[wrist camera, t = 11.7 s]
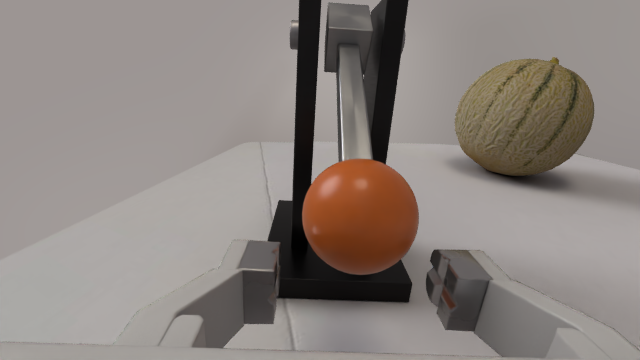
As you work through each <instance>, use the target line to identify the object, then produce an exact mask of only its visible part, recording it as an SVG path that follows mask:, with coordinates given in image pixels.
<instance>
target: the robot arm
mask: <svg viewBox="0 0 640 360" xmlns="http://www.w3.org/2000/svg"><path fill="white" fill-rule="evenodd" d="M280 257H281V242H269V241H253V240H250V241H249V240H233V241H232V242H231V244H230V246H229V248H228V250H227V252H226V254H225V256H224V258H223V260H222V262H221V264H220V266H219V268H218V269H212V270H210V271H208V272H207V273H205V274H203V275H201V276H199V277H198V278H196V279H194V280H192V281H191V282H189V283H187V284H185V285H184V286H182V287H180V288H178V289H176V290H175V291H173V292H171V293H169V294H168V295H166V296H164V297H162V298H160V299H159V300H157V301H155V302H153V303H152V304H150V305H148V306H146V307H144V308H143V309H141V310H139V311H137V313H136V314H135V315H134V316H133V318H132V319H131V320H130V322H129V323H128V324H127V326H126V327H125V328H124V330H123V331H122V332H121V334H120V335H119V336H118V338H117V339H116V340H115V342H114V343H113V344H112V345H98V344H65V343H33V342H0V360H640V350H638V349H637V348H636V347H635V346H634V345H633V344H631V343H630V342H629V341H628V340H627V339H625V338H624V337H623V336H622V335H621V334H620V333H618V332H617V331H616V330H615V329H613V328H611V327H609V326H607V325H605V324H603V323H601V322H599V321H597V320H595V319H593V318H591V317H589V316H587V315H585V314H583V313H581V312H579V311H577V310H575V309H573V308H571V307H569V306H567V305H565V304H563V303H561V302H558V301H556V300H554V299H552V298H550V297H548V296H546V295H544V294H542V293H540V292H538V291H536V290H534V289H532V288H530V287H528V286H526V285H524V284H522V283H520V282H518V281H512V280H511V279H510V278H509V277H508V276H507V275H506V274H505V273H504V272H503V271H502V270H501V269H500V268H499V267H498V266H497V265H496V264H495V263H494V262H493V261H492V260H491V259H490V258H489V257H488V256H487V255H486V254H485V253H484V252H483V251H480V250H434V251H433V252H432V255H431V259H430V262H431V263H432V265H433V268H432V269H431V270H430V271H429V272H428V273H427V278H426V290H427V293H428V297H429V299H430V301H431V302H432V303H433V304H434V305H436V306H437V307H438V309H437V314H438V316H439V318H440V320H441V322H442V324H443V326H444V328H445V330H456V331H472V332H474V333H475V334H476V335H477V336H478V337H479V338H480V339H482V340H483V341H484V342H485V343H486V344H488V345H489V346H490V347H491V348H492V349H493V350H495V351H496V352H497V353H498V354H499V355H500V356H502V357H487V356H454V355H422V354H390V353H357V352H325V351H292V350H260V349H228V348H223V347H224V346H225V345H226V344H227V343H228V342H229V340H230V339H231V338H232V337H233V336H234V335H235V334H236V333H237V332H238V331H239V330H240V329H241V328H242V327H243V326H244V324H274V318H275V312H276V302H277V297H278V294H279V286H280V272H281V266H280V265H279V263H280Z"/></svg>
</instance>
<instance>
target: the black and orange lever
mask: <svg viewBox="0 0 640 360" xmlns="http://www.w3.org/2000/svg"><path fill="white" fill-rule="evenodd" d="M407 7H408V0H381V1H380V3H379V4H378V5H377V6H376V7H375V8H374V9H373V10H372V12H371V15H370V16H371V21H372V27H373V35H372V40H371V45H370V50H369V55H368V60H367V65H366V70H365V74H364V88H365V96H366V105H367V113H368V121H369V130H370V138H371V147H372V155H373V160H375V161H378V162H381V163H383V164H386V158H387V151H388V144H389V137H390V130H391V122H392V115H393V108H394V101H395V94H396V86H397V79H398V72H399V65H400V58H401V53H402V51H403V48H404V43H405V30H404V28H405V21H406V15H407ZM320 13H321V0H299V21H295V20H292V21H291V24H290V48H291V49H297V50H298V54H297V83H296V113H295V140H294V169H293V198H292V201H283V200H279V202H278V205H277V209H276V212H275V216H274V220H273V223H272V227H271V230H270V234H269V237H268V241H269V242H281V257H280V263H279V265H280V266H281V272H280V286H279V294H278V297H286V298H313V299H340V300H368V301H395V302H409V298H410V293H411V288H412V282H411V280H410V278H409V276H408V273H407V271H406V269H405V267H404V265H403V263H402V261H401V259H400V260H399V261H398V262H397V263H396V264H394V265H393V266H391V267H389V268H387V269H385V270H383V271H381V272H377V273H373V274H367V275H356V274H349V273H345V272H342V271H339V270H337V269H335V268H333V267H331V266H330V265H328V264H327V263H325V262H324V261H323V260H322V259H321V258H320V257H319V256H318V255H317V254H316V253H315V252H314V250H313V249H312V247H311V246H310V244H309V242H308V240H307V238H306V235H305V232H304V228H303V221H302V211H303V204H304V200H305V196H306V194H307V192H308V190H309V188H310V186H311V176H312V158H313V139H314V122H315V104H316V86H317V68H318V50H319V32H320Z"/></svg>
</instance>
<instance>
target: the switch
mask: <svg viewBox="0 0 640 360" xmlns="http://www.w3.org/2000/svg"><path fill="white" fill-rule="evenodd" d="M372 35H373V27H372V21H371V16H370V11H369V6H368V5H355V4H341V3H328V12H327V24H326V36H325V67H324V69H325V70H324V71H325V72H335V73H336V78H337V115H338V153H339V162H338V163H336V164H334V165H332V166H330V167H328V168H327V169H326V170H324V171H323V172H322V173H321V174H320V175H319V176H318V177H317V178H316V179H315V180H314V182H313V183H312V184H311V186H310V188H309V190H308V192H307V194H306V196H305V200H304V204H303V211H302V221H303V228H304V232H305V235H306V238H307V240H308V242H309V244H310V246H311V247H312V249H313V250H314V252H315V253H316V254H317V255H318V256H319V257H320V258H321V259H322V260H323V261H324V262H325V263H327V264H328V265H330V266H331V267H333V268H335V269H337V270H339V271H342V272H345V273H349V274H356V275H367V274H373V273H377V272H381V271H383V270H385V269H387V268H389V267H391V266H393V265H394V264H396V263H397V262H398V261H399V260H400V259H401V258H403V256H404V255H405V254H406V253H407V252H408V250H409V249H410V247H411V245H412V243H413V241H414V239H415V236H416V234H417V229H418V224H419V212H418V205H417V202H416V199H415V196H414V193H413V191H412V189H411V188H410V186H409V185H408V183H407V182H406V180H405V179H404V178H403V177H402V176H401V175H400V174H399V173H398V172H396V171H395V170H394V169H392V168H391V167H389V166H387V165H386V164H383V163H381V162H378V161H375V160H373V155H372V147H371V138H370V130H369V121H368V113H367V105H366V96H365V88H364V79H363V74H365V70H366V65H367V60H368V55H369V50H370V45H371V40H372Z"/></svg>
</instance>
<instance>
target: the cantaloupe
mask: <svg viewBox="0 0 640 360" xmlns="http://www.w3.org/2000/svg"><path fill="white" fill-rule="evenodd" d="M558 64H559V60H558V59H557V58H555V57H553V58H552V60H550V61H544V60H539V59H522V60H514V61H510V62H506V63H503V64H500V65H498V66H496V67H494V68H492V69H491V70H489V71H487V72H486V73H484V74H483V75H482V76H480V77H479V78H478V79H477V80H476V81H475V82H474V83H473V84H472V85H471V86H470V87H469V88H468V90H467V91H466V93H465V94H464V95H463V97H462V98H461V101H460V103H459V105H458V109H457V113H456V117H455V131H456V134H457V137H458V140H459V143H460V146H461V148H462V150H463V151H464V152H465V154H466V155H468V156H469V157H470V158H471V159H473V160H474V161H475V162H476V163H478V164H479V165H480V166H482V167H483V168H485V169H486V170H488V171H491V172H495V173H500V174H505V175H512V176H523V175H534V174H538V173H542V172H544V171H547V170H551V169H553V168H555V167H556V166H559V165H560V164H562V163H563V162H565V161H566V160H568V159H569V158H570V157H571V156H572V155H573V154H574V153H575V152H576V151H577V150H578V149H579V147H580V146H581V145H582V144H583V142H584V141H585V139H586V137H587V135H588V134H589V132H590V130H591V126H592V121H593V118H594V102H593V99H592V95H591V92H590V90H589V87H588V86H587V85H586V83H585V81H584V80H583V79H582V78H581V77H580V76H579V75H577V74H576V73H575V72H573V71H571V70H569V69H566V68H564V67H562V66H561V65H558Z"/></svg>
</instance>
